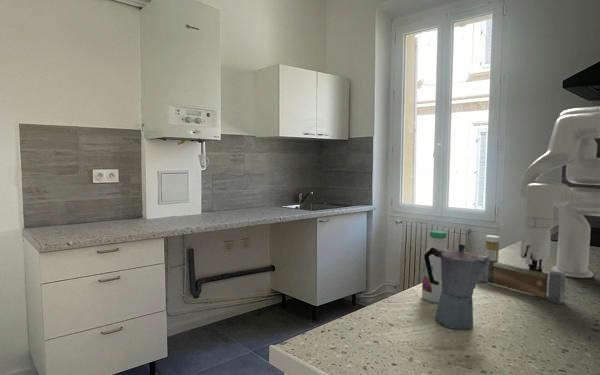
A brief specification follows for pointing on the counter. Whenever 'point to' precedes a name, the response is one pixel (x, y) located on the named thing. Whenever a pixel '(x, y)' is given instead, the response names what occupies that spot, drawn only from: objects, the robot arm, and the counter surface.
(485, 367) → the counter surface
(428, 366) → the counter surface
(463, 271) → the moka pot
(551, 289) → the grey rectangular blocks
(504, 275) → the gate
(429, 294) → the milk bottle
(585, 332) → the counter surface
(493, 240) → the sprinkles bottle
